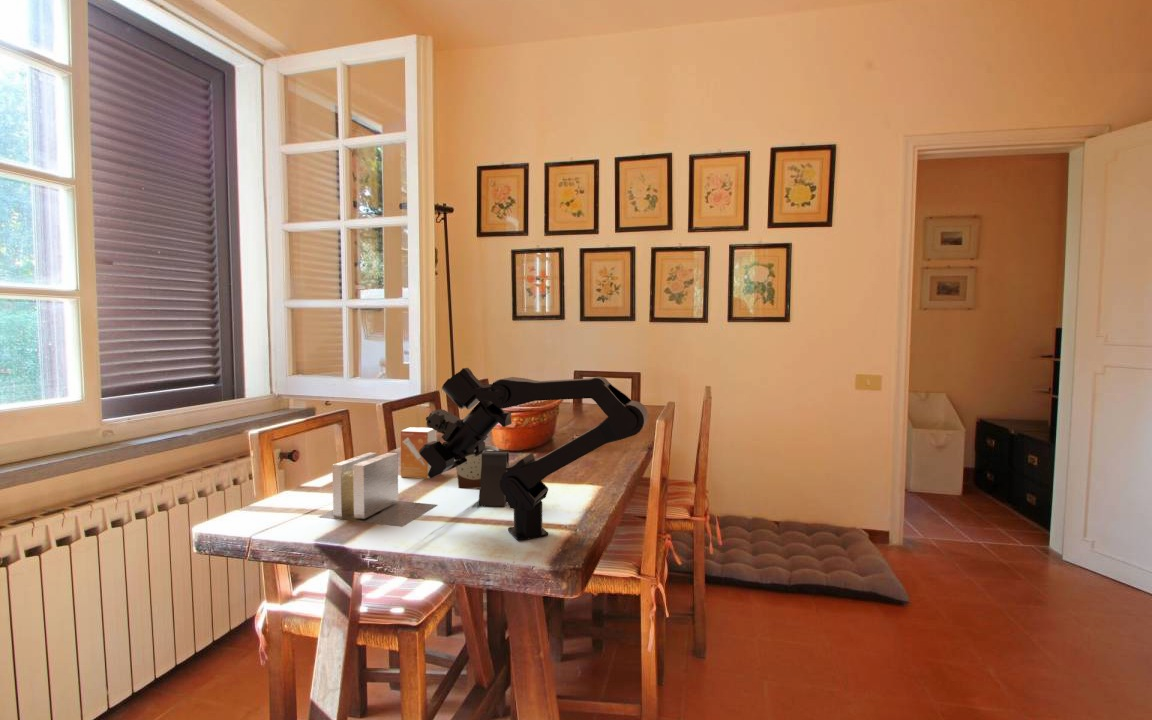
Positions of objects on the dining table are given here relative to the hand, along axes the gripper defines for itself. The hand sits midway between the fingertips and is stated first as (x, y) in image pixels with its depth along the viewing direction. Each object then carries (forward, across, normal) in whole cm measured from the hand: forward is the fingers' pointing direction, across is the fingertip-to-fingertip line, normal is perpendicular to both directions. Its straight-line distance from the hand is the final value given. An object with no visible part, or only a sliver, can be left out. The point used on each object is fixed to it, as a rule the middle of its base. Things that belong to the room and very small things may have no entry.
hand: (429, 476), depth 113 cm
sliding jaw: (+15, 0, -3) cm, 15 cm away
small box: (+23, -33, -9) cm, 41 cm away
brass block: (+17, 0, -5) cm, 18 cm away
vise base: (+16, 0, -2) cm, 16 cm away
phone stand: (+2, -18, +12) cm, 22 cm away
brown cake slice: (+10, -28, +5) cm, 30 cm away
